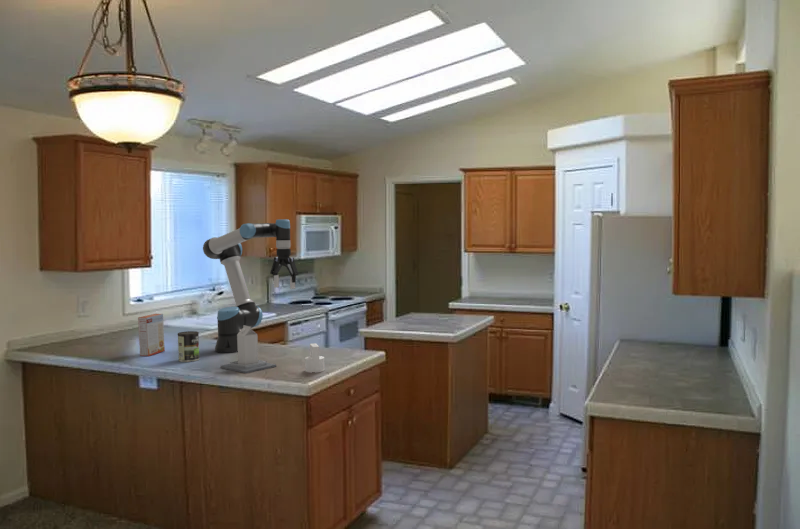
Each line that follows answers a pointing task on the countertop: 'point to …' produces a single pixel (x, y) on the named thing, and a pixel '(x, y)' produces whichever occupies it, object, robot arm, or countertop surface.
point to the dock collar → (248, 365)
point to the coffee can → (188, 346)
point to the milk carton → (247, 346)
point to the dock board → (248, 368)
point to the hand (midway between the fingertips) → (284, 288)
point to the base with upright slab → (314, 360)
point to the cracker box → (151, 334)
